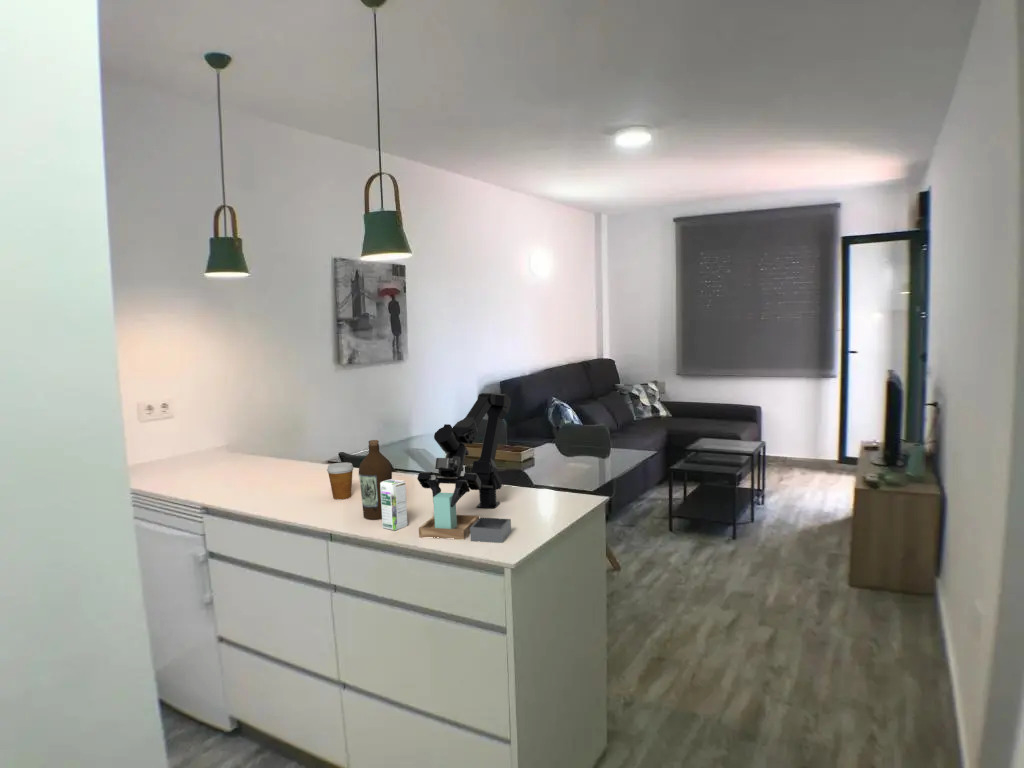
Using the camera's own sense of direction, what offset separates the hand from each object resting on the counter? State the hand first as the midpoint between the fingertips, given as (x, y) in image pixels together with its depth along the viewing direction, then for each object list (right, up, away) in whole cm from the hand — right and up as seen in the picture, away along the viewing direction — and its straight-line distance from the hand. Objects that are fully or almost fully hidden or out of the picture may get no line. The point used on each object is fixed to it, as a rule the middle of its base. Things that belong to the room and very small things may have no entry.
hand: (443, 505), depth 197 cm
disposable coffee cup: (-42, -6, +48) cm, 64 cm away
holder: (+14, -9, -2) cm, 17 cm away
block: (+1, -7, +2) cm, 7 cm away
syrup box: (-16, -9, +11) cm, 21 cm away
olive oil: (-24, -8, +24) cm, 34 cm away
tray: (+2, -8, +5) cm, 10 cm away
